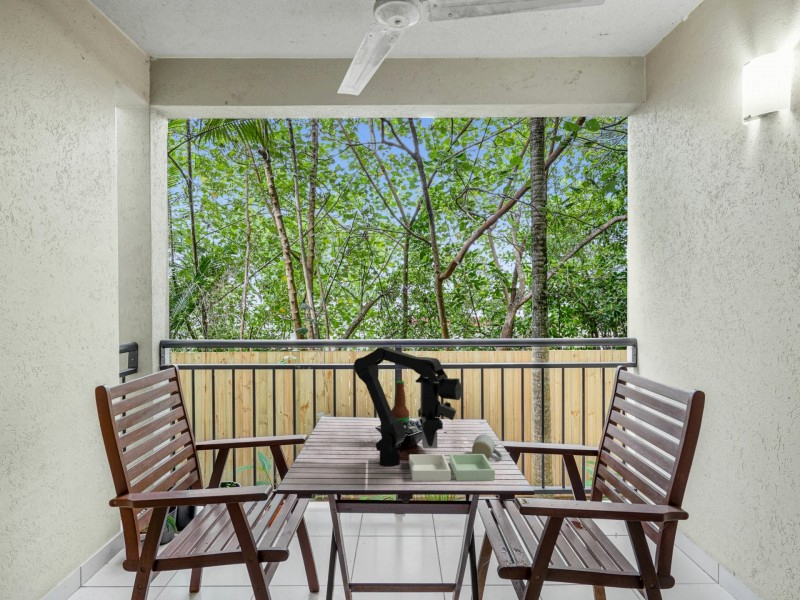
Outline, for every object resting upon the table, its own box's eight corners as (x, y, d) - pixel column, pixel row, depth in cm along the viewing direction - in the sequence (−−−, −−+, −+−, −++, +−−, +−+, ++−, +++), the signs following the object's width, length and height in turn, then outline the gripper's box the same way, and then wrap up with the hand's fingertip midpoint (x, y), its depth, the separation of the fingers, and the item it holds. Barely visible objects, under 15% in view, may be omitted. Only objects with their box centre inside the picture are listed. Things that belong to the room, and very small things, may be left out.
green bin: (456, 483, 162) (457, 470, 162) (449, 465, 178) (449, 454, 178) (494, 482, 163) (494, 470, 163) (483, 465, 179) (483, 453, 179)
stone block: (423, 448, 167) (423, 433, 167) (422, 444, 172) (422, 429, 172) (437, 448, 168) (437, 433, 167) (435, 444, 172) (435, 429, 172)
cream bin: (412, 483, 162) (412, 470, 161) (408, 465, 178) (409, 454, 177) (450, 483, 162) (450, 470, 162) (443, 465, 178) (443, 454, 178)
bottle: (391, 448, 197) (392, 383, 197) (388, 442, 204) (389, 379, 204) (410, 447, 199) (411, 382, 198) (406, 441, 206) (407, 379, 205)
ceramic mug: (470, 460, 184) (471, 439, 184) (474, 453, 192) (474, 433, 192) (501, 464, 181) (501, 442, 181) (502, 456, 189) (503, 436, 189)
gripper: (459, 403, 160) (458, 452, 161) (450, 391, 179) (449, 435, 179) (423, 403, 160) (423, 453, 160) (418, 391, 178) (417, 436, 179)
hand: (429, 444), depth 170 cm, fingers closed on stone block, 4 cm apart
